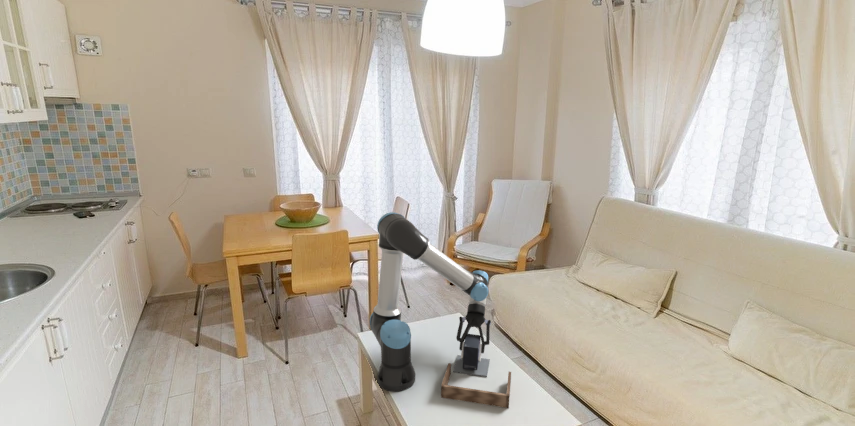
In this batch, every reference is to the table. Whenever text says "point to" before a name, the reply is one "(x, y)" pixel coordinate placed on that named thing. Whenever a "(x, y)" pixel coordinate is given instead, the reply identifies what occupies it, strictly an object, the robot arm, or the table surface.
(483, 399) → the walnut bay
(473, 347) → the small box
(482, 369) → the rubber mat
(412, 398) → the table surface
